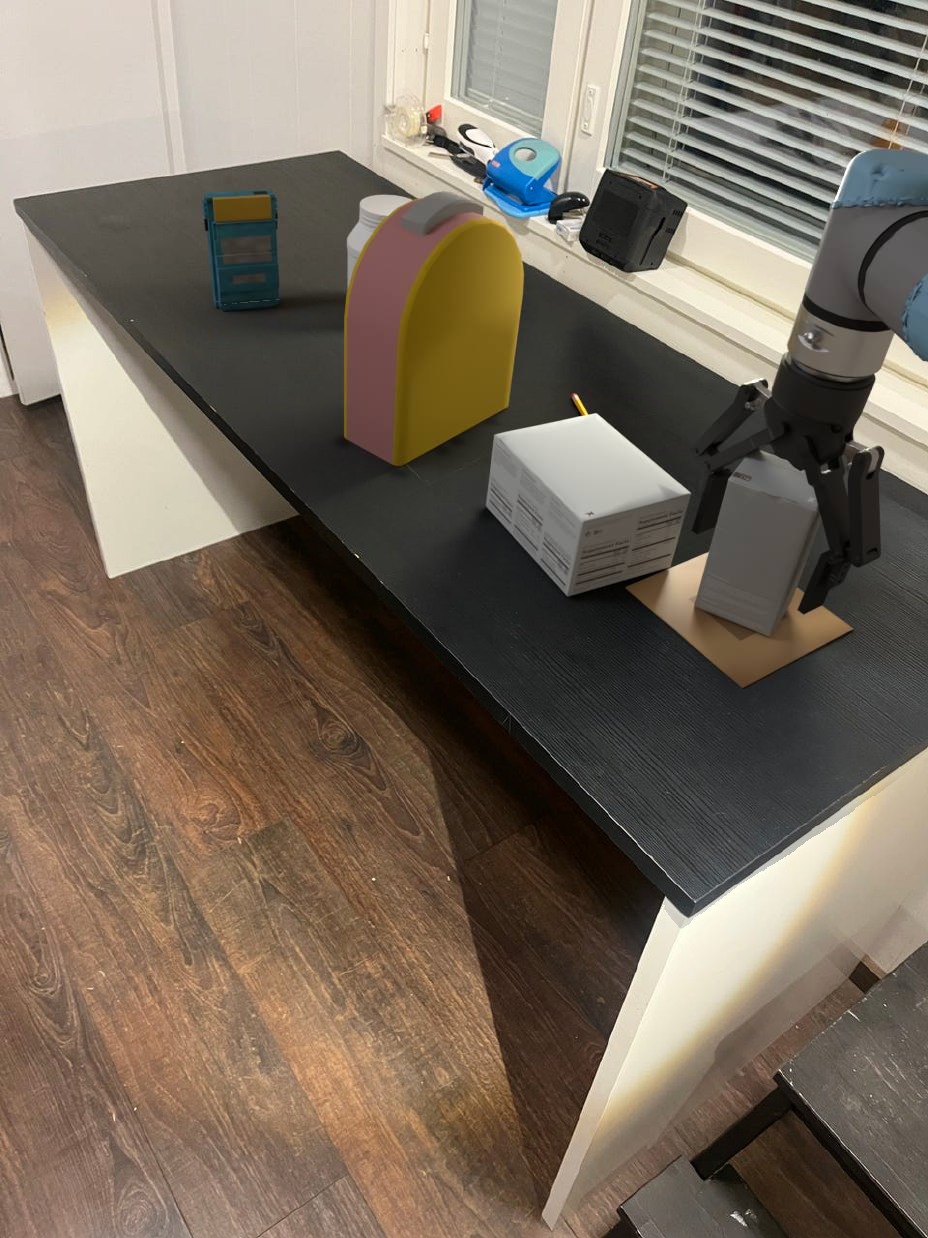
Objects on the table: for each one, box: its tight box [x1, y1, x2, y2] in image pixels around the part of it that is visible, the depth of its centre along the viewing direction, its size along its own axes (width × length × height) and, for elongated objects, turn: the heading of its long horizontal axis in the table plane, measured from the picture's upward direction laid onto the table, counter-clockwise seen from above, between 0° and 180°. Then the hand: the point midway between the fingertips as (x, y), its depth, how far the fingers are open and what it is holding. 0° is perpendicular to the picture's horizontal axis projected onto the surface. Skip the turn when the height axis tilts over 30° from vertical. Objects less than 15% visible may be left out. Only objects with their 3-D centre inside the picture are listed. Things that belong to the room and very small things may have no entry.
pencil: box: [571, 393, 589, 416], centre depth 119 cm, size 1×13×1 cm, turn 11°
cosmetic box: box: [694, 449, 824, 637], centre depth 89 cm, size 8×7×16 cm
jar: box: [346, 194, 413, 292], centre depth 132 cm, size 12×10×15 cm
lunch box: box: [343, 190, 525, 467], centre depth 107 cm, size 21×9×26 cm, turn 140°
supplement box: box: [485, 413, 692, 597], centre depth 98 cm, size 17×13×9 cm
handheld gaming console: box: [201, 189, 280, 312], centre depth 130 cm, size 10×4×15 cm, turn 113°
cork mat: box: [625, 551, 854, 689], centre depth 94 cm, size 16×16×1 cm
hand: (754, 566), depth 91 cm, fingers open, 13 cm apart
